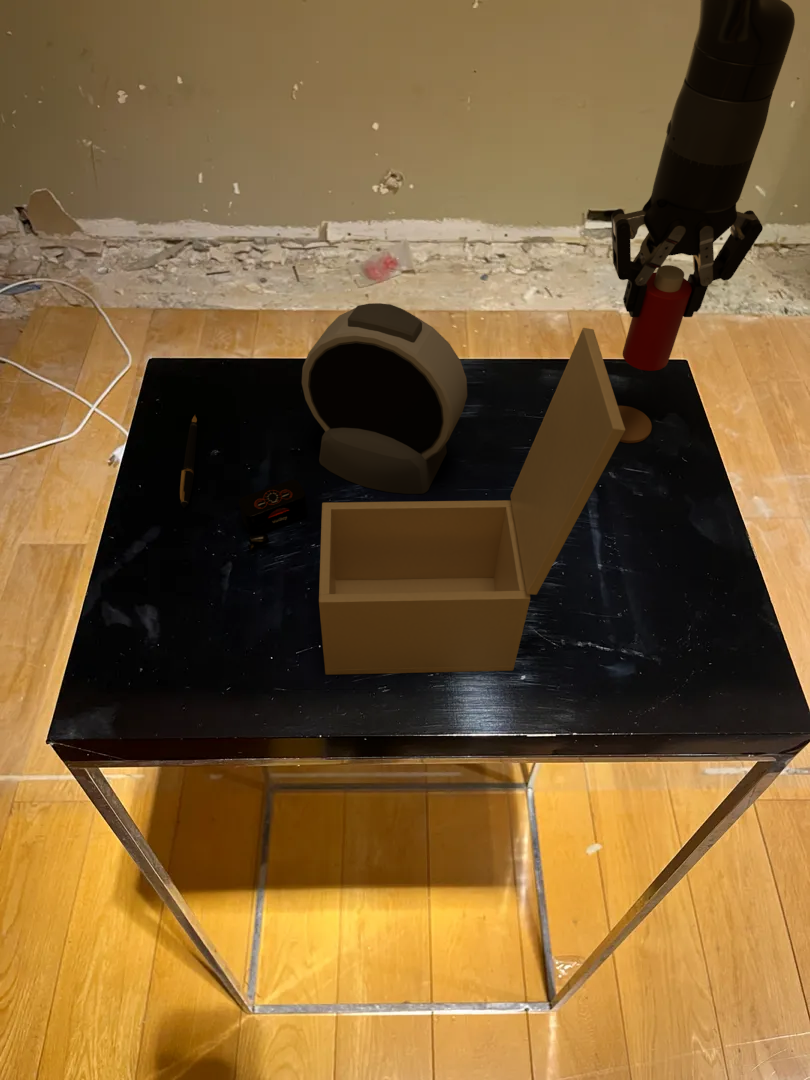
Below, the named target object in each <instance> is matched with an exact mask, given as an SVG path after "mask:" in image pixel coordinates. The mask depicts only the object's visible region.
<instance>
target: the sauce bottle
mask: <svg viewBox="0 0 810 1080" xmlns="http://www.w3.org/2000/svg"><path fill="white" fill-rule="evenodd" d="M646 284H647V290H646V293H645V297H644V300H643V304H642V307H641V311H640V314H639V317H631V321H630V324H629V328H628V332H627V335H626V338H625V341H624V345H623V349H622V358H623V360H624V361H625V363H627V364H628V365H630V366H631V367H633V368H634V369H638V370H641V371H647V372H655V371H659V370H662V369H663V368H666V366H668V363H669V360H670V357H671V355H672V352H673V349H674V346H675V343H676V341H677V340H676V339H677V336H678V333H679V330H680V328H681V324H682V321H683V318H684V316H683V315H684V312H685V309H686V306H687V303H688V300H689V297H690V294H691V291H692V287H691V285H690V283H689V282H688V279H686V278H685V272H684V270H683V269H681V268H680V267H678V266H676V265H671V264H670V265H669V264H665V265H661V267H660V268H656V271H654V272H653V274H652V275H651V277H650V278H649V280H648V281H647V283H646Z"/></svg>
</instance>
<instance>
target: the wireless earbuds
mask: <svg viewBox="0 0 810 1080" xmlns="http://www.w3.org/2000/svg"><path fill="white" fill-rule="evenodd" d="M238 505H239V511H240V516H241V521H242V523H243V525H244V527H245V529H246V530H247V532H248V533H249V537H248V544H247V547H248V550H249V551H250V552H253V551H255V550H256V549H257V547H259V546H264V545H266V544H268V543H269V542H270V539H269V535H268V534H267V533H265V532H267V531H268V532H269V531H271V530H273V529H276V528H278V527H281V526H284V525H286V524H289V523H292V522H293V521H294V522H295V521H297V520H300V519H303V518H304V517H306V515H307V513H308V506H307V505H308V504H307V496H306V490H305V489H304V488H303V486H302V485H301V484H300V482H299V480H297V479H288V480H286V481H284V482H281V483H278V484H275V485H272V486H269V487H266V488H264V489H261V490H258V491H255V492H253V493H250V494H248V495H245V496H242V497H240V498H239V500H238Z"/></svg>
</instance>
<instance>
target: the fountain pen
mask: <svg viewBox="0 0 810 1080" xmlns="http://www.w3.org/2000/svg"><path fill="white" fill-rule="evenodd" d="M197 421H198V419H197V417H196V415H194V416H193V417H192V419H191V422H190V425H189V428H188V429H189V430H188V435H187V441H186V448H185V453H184V461H183V468H182V469H181V473H180V474H181V475H180V486H179V499H180V504H181V506H182V508H183V509H185V508H186V507H188V506H189V502H190V500H191V495H192V491H193V484H194V477H195V461H196V451H197V437H198V436H197V435H198V423H197Z"/></svg>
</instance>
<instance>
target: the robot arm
mask: <svg viewBox="0 0 810 1080" xmlns="http://www.w3.org/2000/svg"><path fill="white" fill-rule="evenodd" d="M699 3H700V4H699V19H698V27H697V31H696V34H695V39H694V41H693V45H692V50H691V53H690V57H689V61H688V64H687V68H686V73H685V76H684V79H683V83H682V86H681V88H680V90H679V93H678V96H677V98H676V101H675V103H674V106H673V110H672V113H671V117H670V120H669V122H668V124H667V126H666V131H665V132H666V136H665V140H664V144H663V148H662V151H661V154H660V159H659V162H658V167H657V170H656V174H655V178H654V180H653V185H652V191H651V195H650V197H649V199H648V200H647V202H646V203H645V204H644V205H643V207H642V208H641V210H640V209H639V210H636V211H633V212H628V213H625V211H624V210H623V209H616V210H614V211H613V212H612V213H611V217H610V218H611V219H610V220H611V243H612V244H611V247H612V264H613V267H614V270H615V272H616V275H617V277H618V279H619V280H621V281H625V280H626V281H627V283H626V285H625V291H624V295H623V298H622V302H623V305H624V308H625V311H626V313H628V314H629V317H630V318H632V317H639V314H640V311H641V307H642V304H643V300H644V297H645V293H646V290H647V284H646V283H647V281H648V280H649V278H650V277H651V275H652V274H653V273H654V272H656V270H657V269H658V268H660V267H661V266H663V264H664V263H665V261H666V260H667V258H668V257H669V256H676V255H681V254H683V255H687V256H692V263H693V273H689V275H688V278H687V281H688V282H689V283H690V285H691V287H692V291H691V294H690V297H689V300H688V303H687V306H686V309H685V312H684V315H683V318H693V316H694V314H695V313H698V311H699V310H700V309H701V307H702V304H703V302H704V298H705V296H706V293H707V290H708V287H709V286H710V285H711V284H712V283H713V282H714V281H718V280H720V279H721V280H722V281H729V280H730V279H732V278H733V276H734V275H735V273H736V271H737V270H738V268H739V267H740V265H741V264H742V262H743V261H744V260H745V258H746V256H747V255H748V253H749V252H750V251H751V248H752V247H753V245H754V244H755V243H756V240H757V239H758V238H759V236H760V235H761V233H762V232H763V229H764V227H763V224H762V222H761V220H760V219H759V217H758V216H757V215H756V214H755V212H754V211H753V210H750V209H749V210H746V211H744V212H741V211H737V203H738V202H739V200H740V198H741V196H742V194H743V193H742V192H743V190H744V187H745V185H746V181H747V178H748V176H749V171H750V169H751V167H752V164H753V161H754V158H755V155H756V152H757V150H758V145H759V144H760V141H761V138H762V135H763V132H764V130H765V126H766V123H767V119H768V115H769V110H770V104H771V100H772V96H773V95H774V94H773V93H774V90H775V89H776V85H777V81H778V79H779V76H780V73H781V70H782V67H783V65H784V62H785V59H786V55H787V53H788V50H789V47H790V43H791V40H792V37H793V33H794V29H795V25H796V20H795V19H796V17H795V13H794V10H793V8H792V7H791V6H790V5H789V4H788V3H786V2H785V1H784V0H700V2H699ZM643 225H644V226H645V228H646V230H647V232H648V233H647V234H646V236H645V237H644V238H643V240H642V241H641V244H640V249H639V251H638V252H637V254H636V256H635V257H634V259H633V261H632V255H631V254H632V253H631V252H632V251H631V247H632V246H631V240H634V239H635V238H636V236H637V234H638V231H639V229H640V227H641V226H643ZM728 230H729V232H730V234H729V235H728V236H727V238H726V240H725V242H724V243H723V245H722V246H721V248H720V250H719V252H718V253H717V255H716V256H715V257H714V243H715V242H716V241H717V240H718V239H719V238H720V237H722V235H723V234H725V233H726V232H727V231H728Z"/></svg>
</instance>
